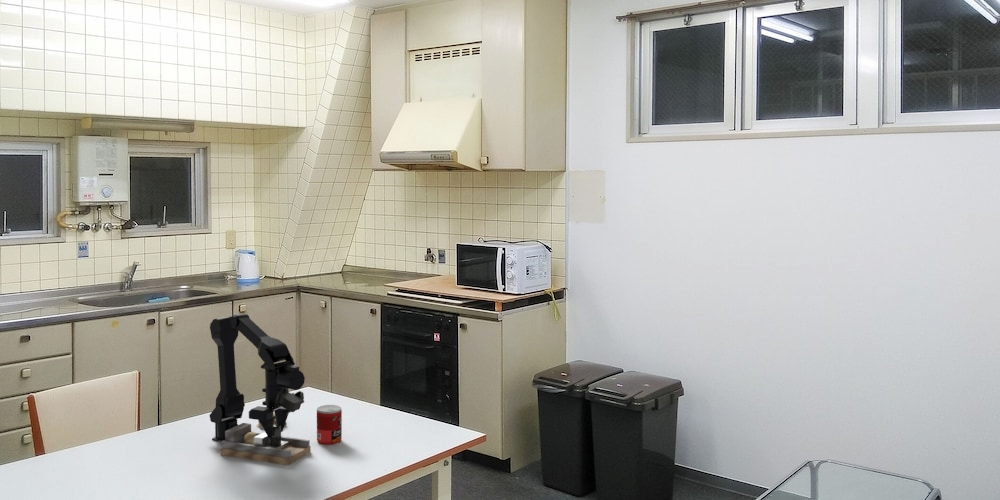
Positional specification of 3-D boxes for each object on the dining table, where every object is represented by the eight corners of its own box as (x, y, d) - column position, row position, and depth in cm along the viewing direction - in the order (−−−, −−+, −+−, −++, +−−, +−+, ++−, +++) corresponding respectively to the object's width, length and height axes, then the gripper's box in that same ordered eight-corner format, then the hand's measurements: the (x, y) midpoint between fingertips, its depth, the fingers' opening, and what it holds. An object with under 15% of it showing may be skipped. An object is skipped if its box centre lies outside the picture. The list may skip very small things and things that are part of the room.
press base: (220, 454, 243) (220, 432, 242) (245, 442, 254) (245, 421, 254) (288, 465, 235) (288, 442, 235) (310, 452, 247) (310, 430, 246)
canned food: (336, 446, 252) (336, 412, 251) (312, 444, 254) (312, 410, 253) (345, 438, 260) (345, 405, 259) (322, 436, 261) (322, 403, 260)
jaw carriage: (253, 450, 241) (253, 427, 241) (269, 441, 249) (269, 420, 248) (273, 453, 239) (273, 430, 238) (288, 444, 247) (288, 422, 246)
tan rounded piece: (241, 446, 245) (241, 433, 245) (249, 442, 249) (249, 429, 249) (252, 447, 244) (252, 435, 243) (260, 443, 248) (260, 431, 247)
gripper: (279, 395, 230) (280, 447, 232) (314, 379, 248) (315, 428, 249) (247, 391, 234) (247, 442, 235) (284, 376, 251) (284, 424, 253)
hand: (275, 434), depth 243 cm, fingers open, 5 cm apart
